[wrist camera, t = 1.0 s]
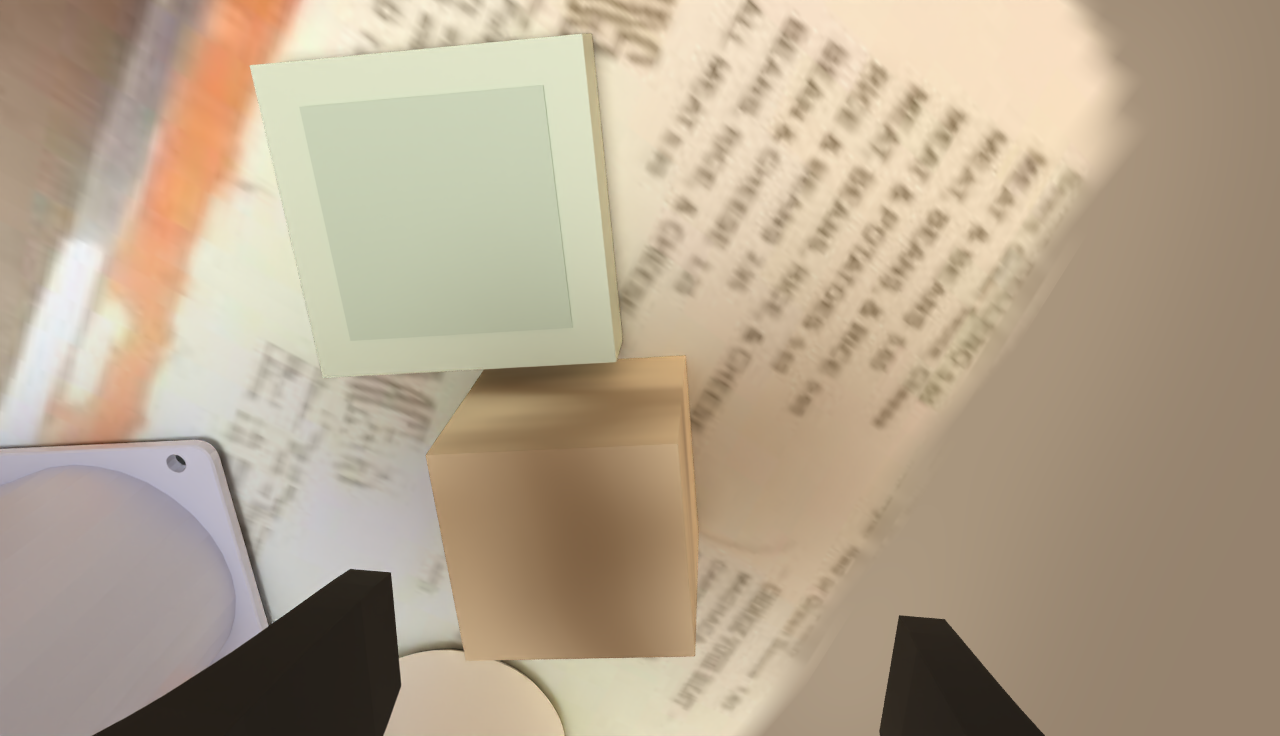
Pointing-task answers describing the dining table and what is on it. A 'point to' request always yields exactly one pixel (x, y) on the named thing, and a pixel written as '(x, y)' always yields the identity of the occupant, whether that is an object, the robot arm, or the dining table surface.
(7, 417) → the dining table surface
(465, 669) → the can
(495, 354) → the base
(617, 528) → the block
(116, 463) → the robot arm
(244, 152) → the dining table surface
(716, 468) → the dining table surface
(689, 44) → the dining table surface
